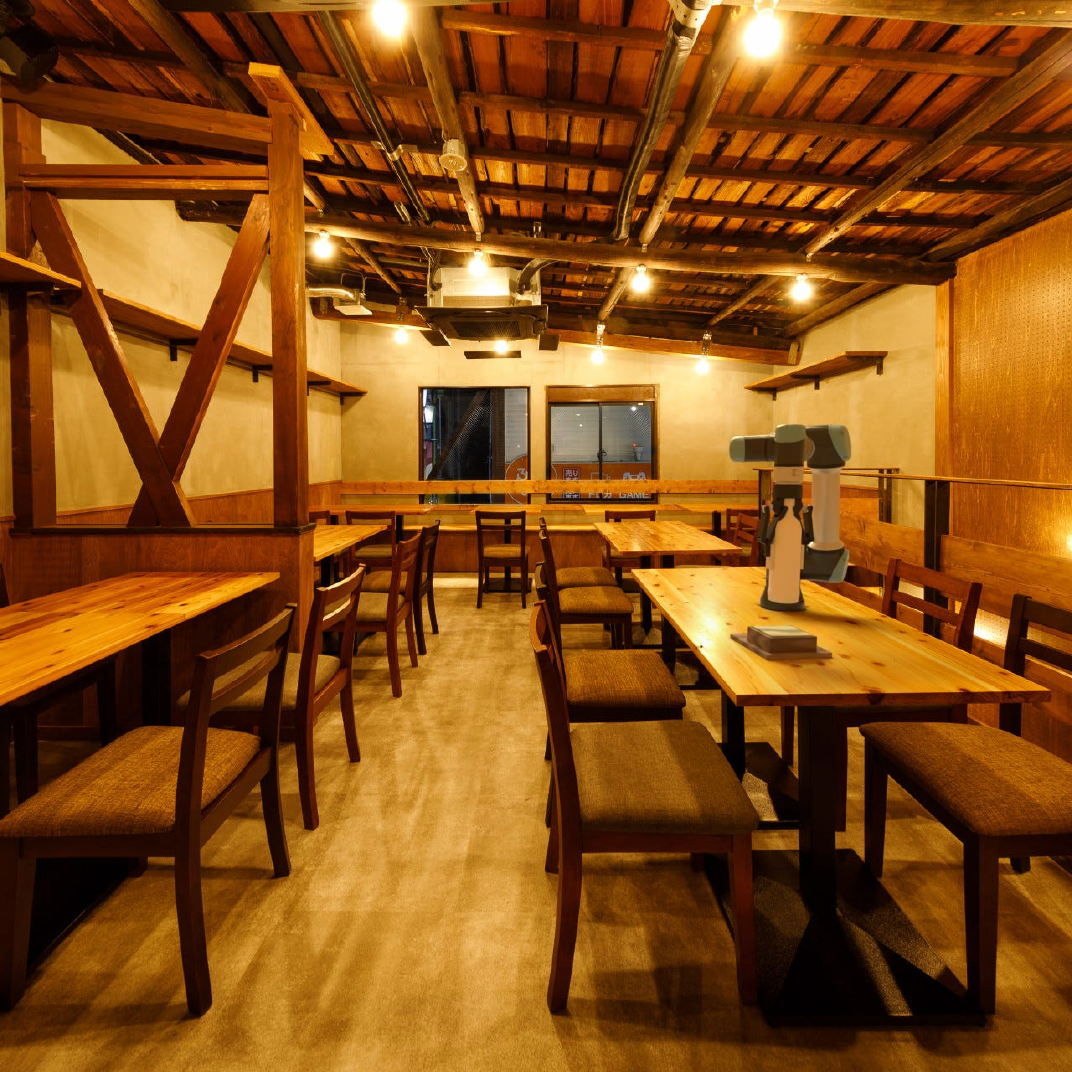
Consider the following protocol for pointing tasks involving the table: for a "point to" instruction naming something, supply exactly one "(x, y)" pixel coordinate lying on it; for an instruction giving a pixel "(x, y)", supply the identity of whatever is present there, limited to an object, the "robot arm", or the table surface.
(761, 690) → the table surface
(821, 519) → the robot arm
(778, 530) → the bottle
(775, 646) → the stand
